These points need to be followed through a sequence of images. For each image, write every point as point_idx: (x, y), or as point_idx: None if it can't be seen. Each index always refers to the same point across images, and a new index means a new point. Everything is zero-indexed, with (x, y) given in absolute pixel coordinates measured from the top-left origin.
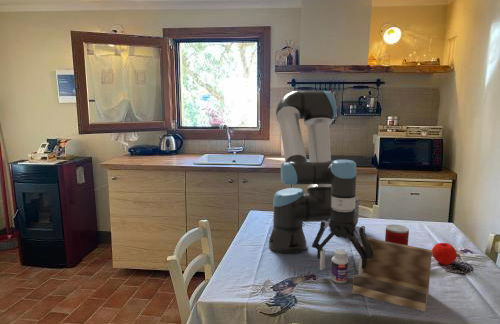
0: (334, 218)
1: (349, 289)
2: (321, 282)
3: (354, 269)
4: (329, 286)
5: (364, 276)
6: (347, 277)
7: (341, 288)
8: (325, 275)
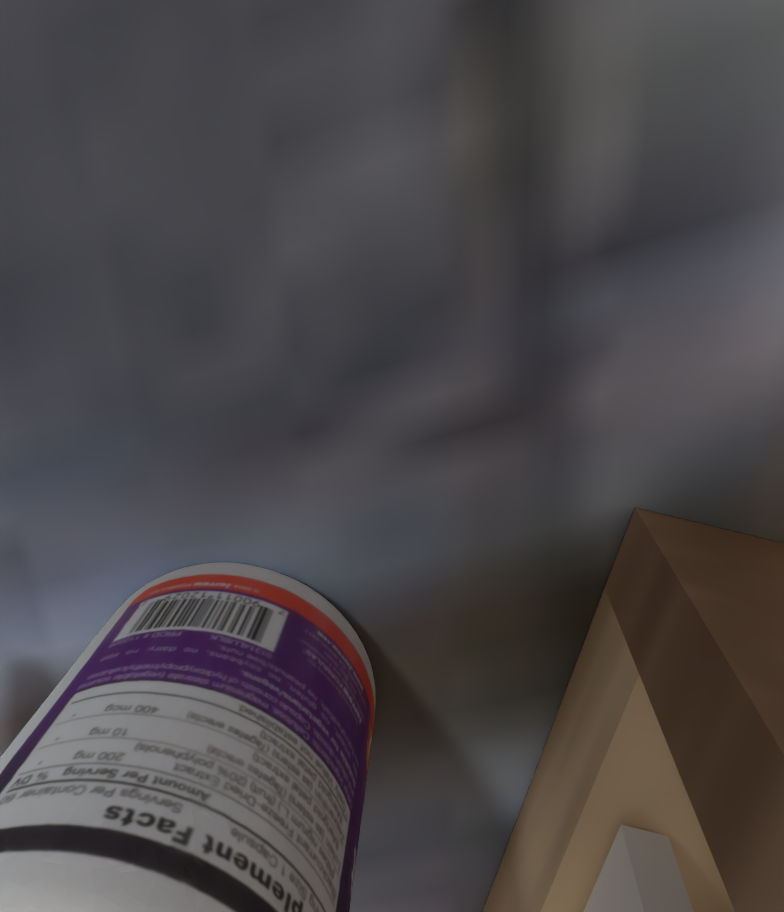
0: None
1: (420, 900)
2: None
3: (508, 194)
4: None
5: (696, 827)
6: (371, 742)
7: None
8: (2, 605)
